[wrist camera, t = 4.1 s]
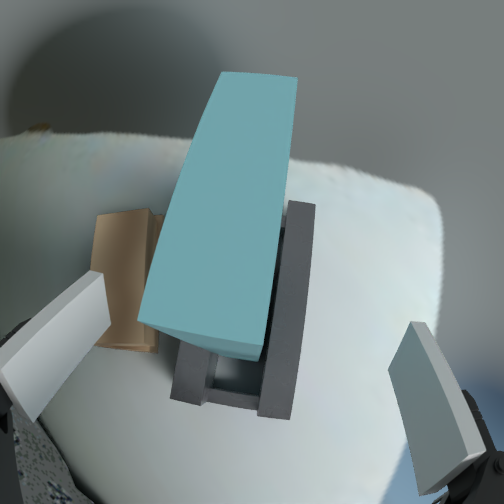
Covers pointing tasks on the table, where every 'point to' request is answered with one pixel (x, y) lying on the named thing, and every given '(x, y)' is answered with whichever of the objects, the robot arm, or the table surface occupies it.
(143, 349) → the block
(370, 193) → the table surface
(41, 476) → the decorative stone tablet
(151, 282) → the teal board
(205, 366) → the board rack
